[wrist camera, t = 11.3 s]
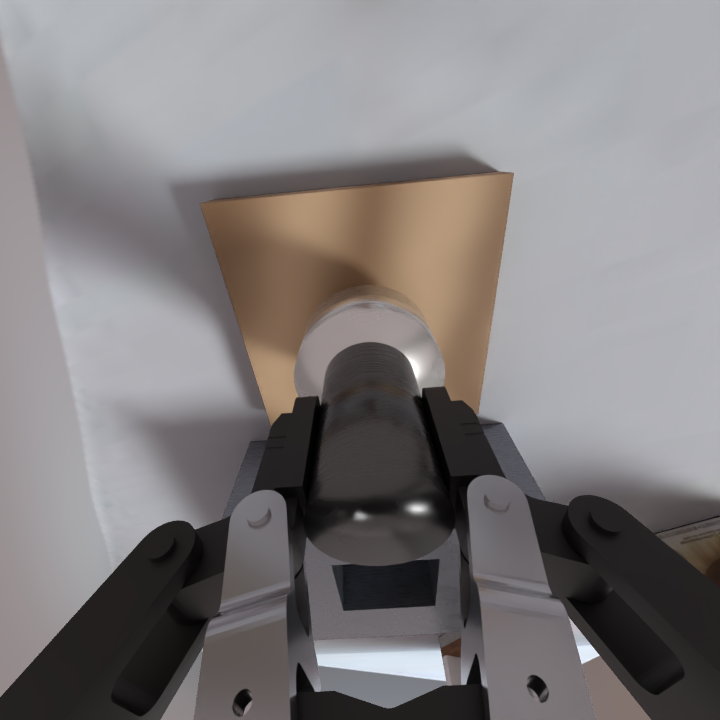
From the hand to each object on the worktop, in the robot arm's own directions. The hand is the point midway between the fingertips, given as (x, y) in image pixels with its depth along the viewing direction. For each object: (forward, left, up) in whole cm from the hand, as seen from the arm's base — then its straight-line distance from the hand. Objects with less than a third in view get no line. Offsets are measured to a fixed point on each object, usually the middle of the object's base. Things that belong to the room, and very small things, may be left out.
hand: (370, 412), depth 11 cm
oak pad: (0, 0, -8) cm, 8 cm away
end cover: (0, 0, -5) cm, 5 cm away
